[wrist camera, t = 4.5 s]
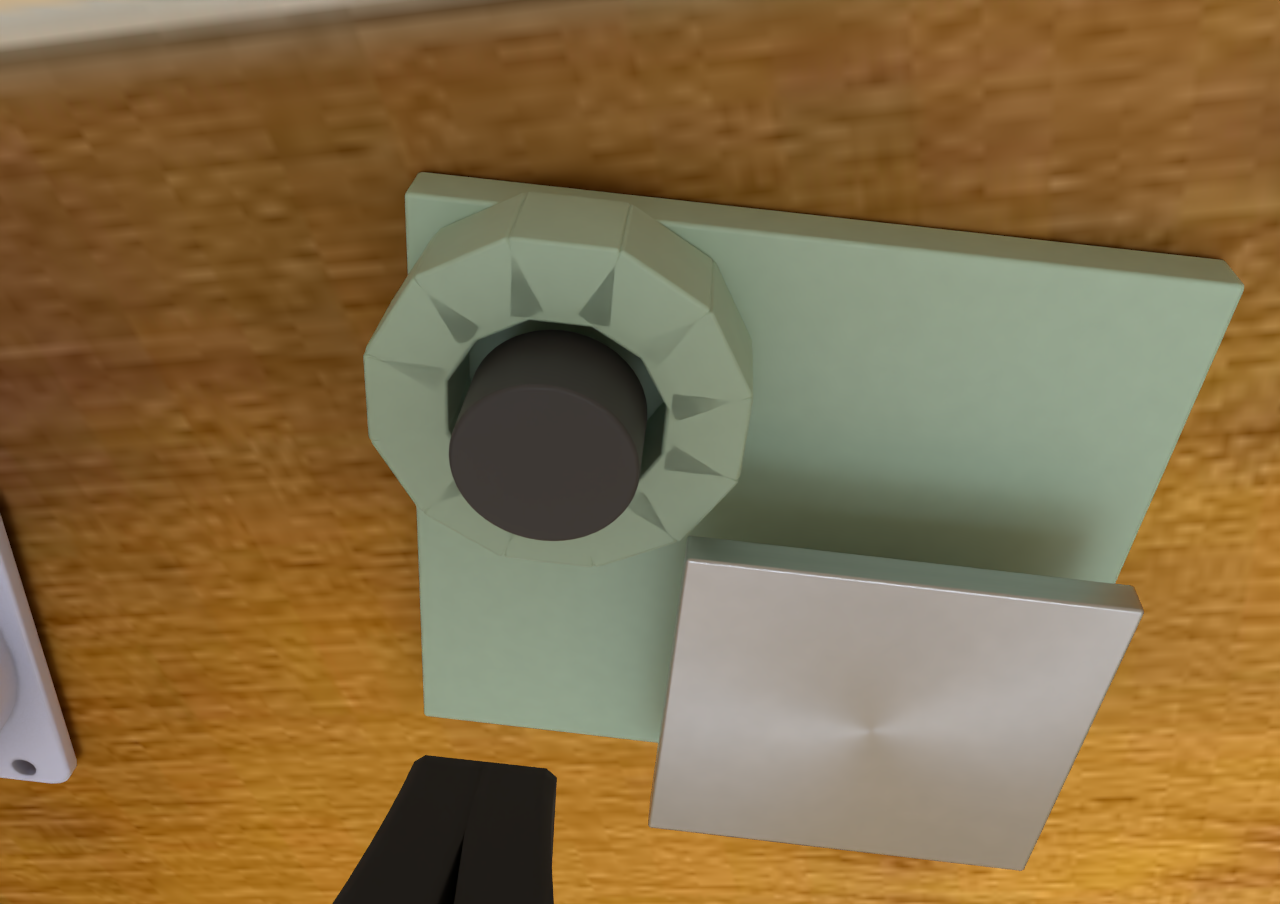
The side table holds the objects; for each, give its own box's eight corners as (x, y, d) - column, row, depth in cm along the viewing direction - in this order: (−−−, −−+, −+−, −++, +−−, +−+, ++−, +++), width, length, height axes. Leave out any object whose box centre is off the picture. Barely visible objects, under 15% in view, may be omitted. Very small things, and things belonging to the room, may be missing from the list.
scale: (421, 682, 23) (390, 781, 21) (401, 151, 17) (353, 220, 15) (1018, 751, 23) (1045, 857, 21) (1232, 243, 16) (1301, 324, 14)
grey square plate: (650, 800, 21) (647, 828, 20) (688, 534, 17) (686, 558, 17) (1017, 843, 21) (1023, 872, 20) (1134, 584, 17) (1145, 612, 17)
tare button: (470, 468, 17) (448, 532, 16) (469, 317, 16) (446, 374, 14) (640, 487, 17) (632, 552, 16) (655, 338, 16) (647, 397, 14)
